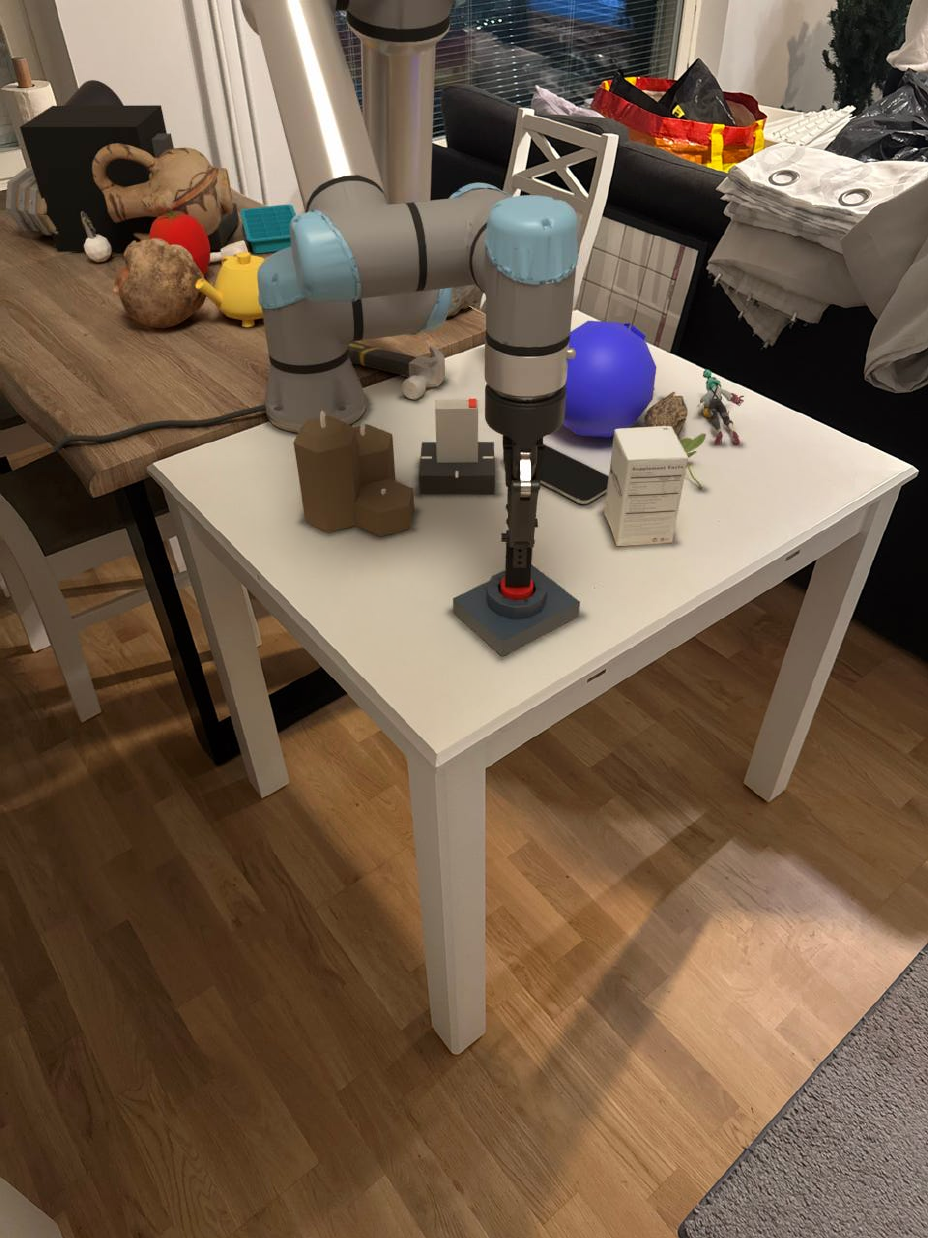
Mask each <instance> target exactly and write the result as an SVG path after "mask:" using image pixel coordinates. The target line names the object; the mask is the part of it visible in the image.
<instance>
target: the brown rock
mask: <svg viewBox="0 0 928 1238" xmlns="http://www.w3.org/2000/svg"><path fill="white" fill-rule="evenodd" d="M687 417H688V406H687V404H686V403H685V400H684V396H683V395H676V392H675V391H672V392H670V393H669V394H667V395H666V396H661V399H660V400H658V402H656V403H655V404H653V405H652V406H650V407H649V408H648V410H647V411H646V414H645V415H644V418H643V420H644V422H643V424H644V427H656V426H671V427H672V428H673V430H674V432H675V434H676V436H677V437H678V435H679V433H680V431H681V428H682V427H683V425H684V424H685V422H686V420H687Z"/></svg>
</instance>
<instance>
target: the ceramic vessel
mask: <svg viewBox="0 0 928 1238" xmlns="http://www.w3.org/2000/svg"><path fill="white" fill-rule="evenodd" d="M116 159H127V160H132V161H135V162H138V163H140V164H143V165H144V166H146V167H147V168H148V169H149V171H150V172H151V173H150V175H149V179H150V180H149V181H147V182H145V183H141V184H137V185H133V186H128V187H122V186H119V185H116V184H114V183H113V182H112V181H111V180H110V179H109V178H108V177H107V175H106V174H105V173H106V168H107V166H108V164H109V163H110V162H111V161H113V160H116ZM92 172H93V178H94V181H95V183H96V184H97V186H98V187H99V188H100V190H101V191H102V192H103V194H104V196H105V200H106V204H107V208H108V212H109V214H110V216H111V218H112V219H113V221H114V222H121V221H124V220H127V219H130V218H137V217H143V216H151V217H160V216H163V215H167V214H164V213H169V214H170V212H173V213H179V212H181V213H182V214H187V215H190V216H192V217H193V218H195V219H196V220H197V221H198V222H199V223H200V224H201V225H202V227H203V228H204V230H205V232H206V235H207V236H208V235H210V234H212V233H213V232H214V231H215V230H216V229H217V228H218V227H219V225H220V223H221V219H222V217H223V216H224V215H226V214H232V212H233V205H232V203H233V201H232V200H233V195H232V188H231V179H230V176H229V172H228V169H227V168H225V167H223V168H217V167H215V166H214V165H212V164H211V163H210V161H209V160H208V158H207V157H206V156H205V155H204V154H203V153H202V152H201V151H199V150H197V149H194V148H191V147H174V148H173V149H169V150H167V151H165V152H164V153H162V154H161V155H160V157H159V158H154V157H153V156H152V155H150V154H149V153H147V152H146V151H144V150H141V149H139V148H136V147H133V146H130V145H125V144H118V143H117V144H110V145H107V146H105V147H103V148H102V149H101V150H99V151H98V153H97V154H96V156H95V158H94V160H93V164H92ZM149 235H150V233H149V234H143V233H139V232H137V233H134V236H135V237H137V238H139V239H140V240H149Z"/></svg>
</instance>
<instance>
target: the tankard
mask: <svg viewBox="0 0 928 1238" xmlns="http://www.w3.org/2000/svg"><path fill="white" fill-rule="evenodd" d="M5 199H6V200H5V209H6V210H7V212H8V213H9V214H10V216H11V217H12V218H13V220H14V222H16V224H17V225H18V226H19V228H20V229H21V231H23V232H26V233H31V234H36V235H40V236H45V237H53V235H52V233H54V232H55V231H56V227H55V226H54V224H53V222H52V221H51V219H50V218H49V216H48V215H46V213H47V205H46V202H45V200H44V198H41V195H40V192H39V189H38V185H37V182H36V179H35V175H34V172H33V169H31V168H30V167H28V166H27V167H25V168H24V169H22V170H21V171H20V172H18V173H17V174H16V175H14V176H13V177H11V178H10V179H9V180H7V183H6V198H5ZM55 234H58V232H57V231H56V232H55Z"/></svg>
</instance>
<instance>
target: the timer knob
mask: <svg viewBox="0 0 928 1238" xmlns="http://www.w3.org/2000/svg"><path fill="white" fill-rule="evenodd" d="M434 405H435V406H434V407H435V409H434V411H435V412H434V414H435V416H434V417H435V442H436V451H437V463H460V462H478V442H479V399H477V398H468V399H435V403H434Z"/></svg>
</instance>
